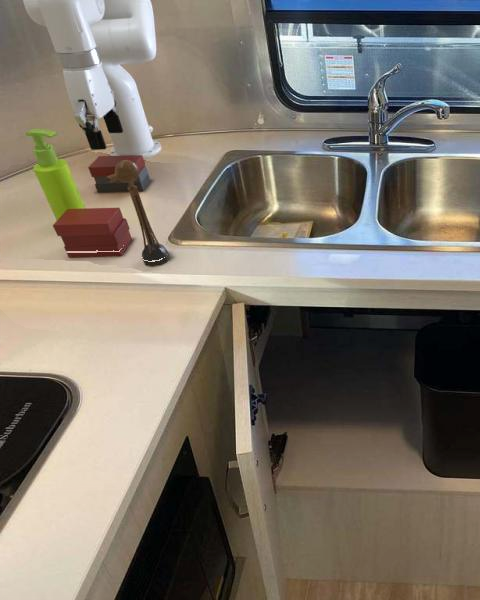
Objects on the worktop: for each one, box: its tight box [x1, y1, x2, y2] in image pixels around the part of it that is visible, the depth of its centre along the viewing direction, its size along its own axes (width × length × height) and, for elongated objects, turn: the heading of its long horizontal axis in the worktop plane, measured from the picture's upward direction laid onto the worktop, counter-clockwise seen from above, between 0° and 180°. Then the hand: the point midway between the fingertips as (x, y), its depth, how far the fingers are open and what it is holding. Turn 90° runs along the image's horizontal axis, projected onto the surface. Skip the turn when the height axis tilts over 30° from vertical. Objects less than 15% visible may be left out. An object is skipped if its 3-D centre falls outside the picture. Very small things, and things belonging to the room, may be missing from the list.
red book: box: [87, 155, 146, 178], centre depth 126 cm, size 10×6×2 cm, turn 92°
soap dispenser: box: [25, 128, 86, 221], centre depth 110 cm, size 6×7×20 cm
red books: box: [52, 207, 133, 258], centre depth 106 cm, size 10×6×7 cm, turn 92°
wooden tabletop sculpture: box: [106, 160, 171, 268], centre depth 99 cm, size 6×5×20 cm
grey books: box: [93, 165, 151, 193], centre depth 128 cm, size 10×5×4 cm, turn 92°
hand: (108, 140), depth 122 cm, fingers open, 9 cm apart
